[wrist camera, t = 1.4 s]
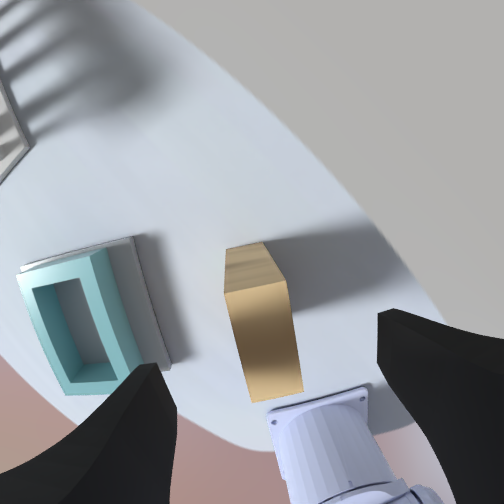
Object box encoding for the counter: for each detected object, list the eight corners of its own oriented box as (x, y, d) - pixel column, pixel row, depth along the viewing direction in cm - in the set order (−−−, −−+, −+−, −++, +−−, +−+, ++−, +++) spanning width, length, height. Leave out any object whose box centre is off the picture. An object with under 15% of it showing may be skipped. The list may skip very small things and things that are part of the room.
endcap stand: (171, 364, 20) (163, 392, 17) (68, 374, 20) (50, 397, 16) (132, 236, 18) (114, 246, 15) (26, 264, 18) (-1, 276, 14)
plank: (276, 317, 20) (303, 391, 12) (242, 324, 20) (251, 403, 12) (262, 241, 19) (285, 280, 11) (226, 249, 19) (223, 293, 11)
